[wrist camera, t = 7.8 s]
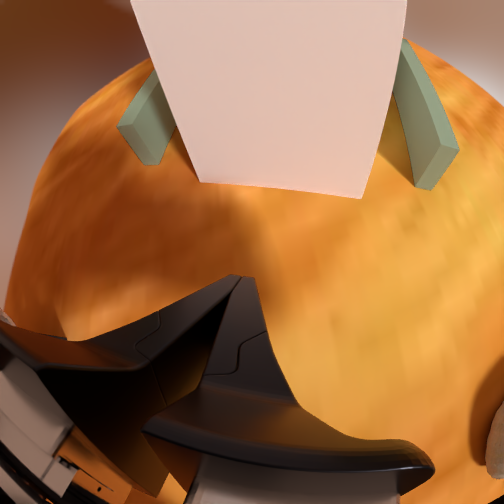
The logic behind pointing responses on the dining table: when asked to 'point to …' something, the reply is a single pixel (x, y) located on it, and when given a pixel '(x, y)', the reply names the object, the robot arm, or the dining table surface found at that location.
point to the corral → (406, 96)
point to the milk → (277, 86)
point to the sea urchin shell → (496, 446)
